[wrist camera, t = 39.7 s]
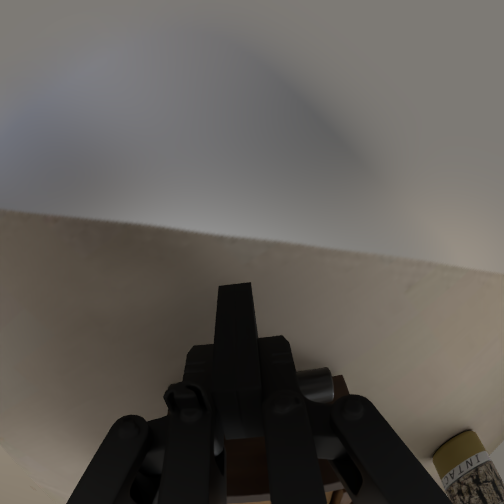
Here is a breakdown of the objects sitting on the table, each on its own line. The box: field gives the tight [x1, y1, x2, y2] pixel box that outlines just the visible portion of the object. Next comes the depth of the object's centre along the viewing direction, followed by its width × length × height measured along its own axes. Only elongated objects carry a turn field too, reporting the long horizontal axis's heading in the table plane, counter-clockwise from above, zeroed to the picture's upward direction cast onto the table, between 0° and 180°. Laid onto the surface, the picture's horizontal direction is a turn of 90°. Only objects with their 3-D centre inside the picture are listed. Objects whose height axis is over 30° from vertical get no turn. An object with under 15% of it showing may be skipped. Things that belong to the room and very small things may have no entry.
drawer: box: [167, 367, 352, 504], centre depth 17 cm, size 19×11×8 cm, turn 7°
